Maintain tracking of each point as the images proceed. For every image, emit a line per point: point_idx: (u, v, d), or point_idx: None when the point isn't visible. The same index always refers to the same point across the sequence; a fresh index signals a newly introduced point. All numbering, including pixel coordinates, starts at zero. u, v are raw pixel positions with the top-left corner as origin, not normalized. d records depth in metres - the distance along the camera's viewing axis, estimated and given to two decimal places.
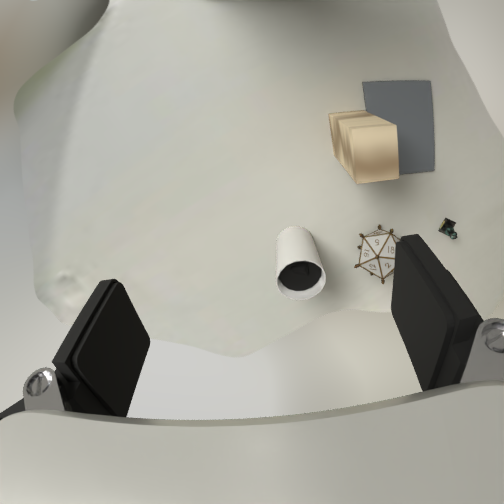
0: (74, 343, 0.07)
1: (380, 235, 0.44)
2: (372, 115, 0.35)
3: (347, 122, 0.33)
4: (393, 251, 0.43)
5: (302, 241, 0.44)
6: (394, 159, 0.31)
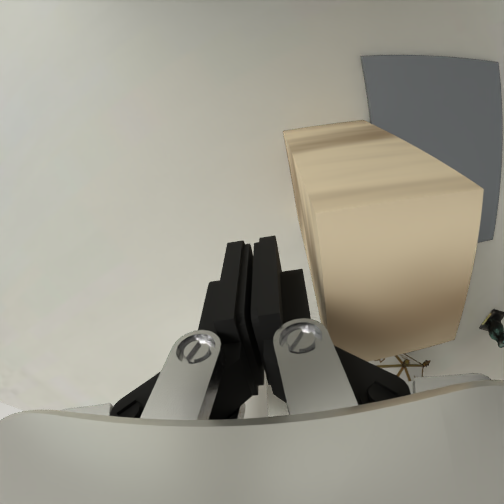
0: (235, 299, 0.08)
1: (384, 368, 0.22)
2: (388, 136, 0.13)
3: (314, 165, 0.11)
4: None
5: None
6: (456, 295, 0.09)
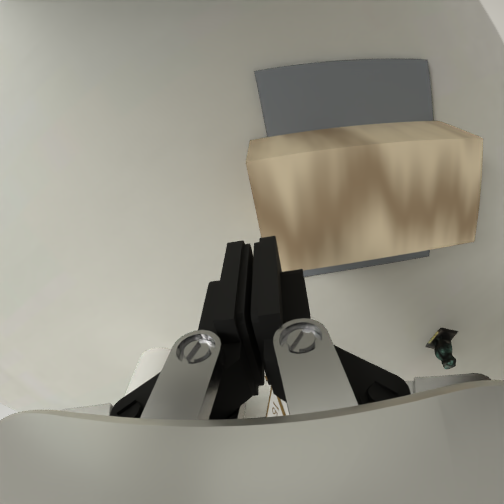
0: (235, 298, 0.08)
1: None
2: (334, 128, 0.17)
3: (413, 138, 0.13)
4: None
5: None
6: None
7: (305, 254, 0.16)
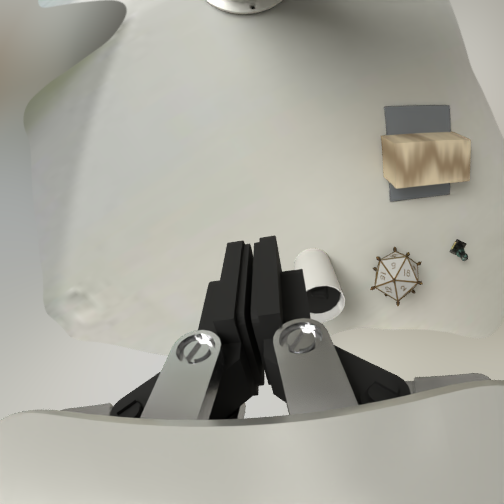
0: (235, 299, 0.08)
1: (396, 258, 0.44)
2: (413, 133, 0.38)
3: (445, 139, 0.34)
4: (409, 274, 0.43)
5: (321, 264, 0.45)
6: None
7: (409, 180, 0.37)
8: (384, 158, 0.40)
